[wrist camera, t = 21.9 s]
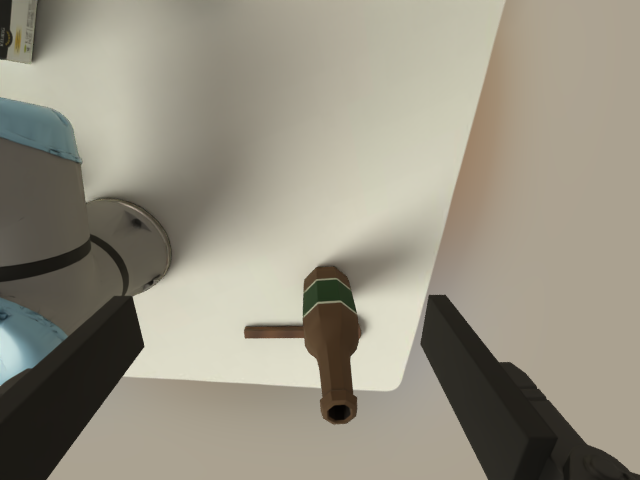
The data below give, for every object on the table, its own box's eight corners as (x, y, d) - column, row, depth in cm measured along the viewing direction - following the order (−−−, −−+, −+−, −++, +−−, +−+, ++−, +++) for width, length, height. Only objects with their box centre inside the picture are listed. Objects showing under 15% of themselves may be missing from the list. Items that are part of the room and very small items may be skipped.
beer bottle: (296, 297, 51) (287, 433, 29) (311, 257, 48) (313, 373, 26) (339, 309, 52) (362, 449, 30) (356, 271, 50) (394, 393, 27)
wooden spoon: (246, 343, 54) (245, 347, 53) (244, 317, 52) (243, 321, 51) (359, 342, 55) (360, 346, 54) (361, 316, 53) (362, 320, 52)
